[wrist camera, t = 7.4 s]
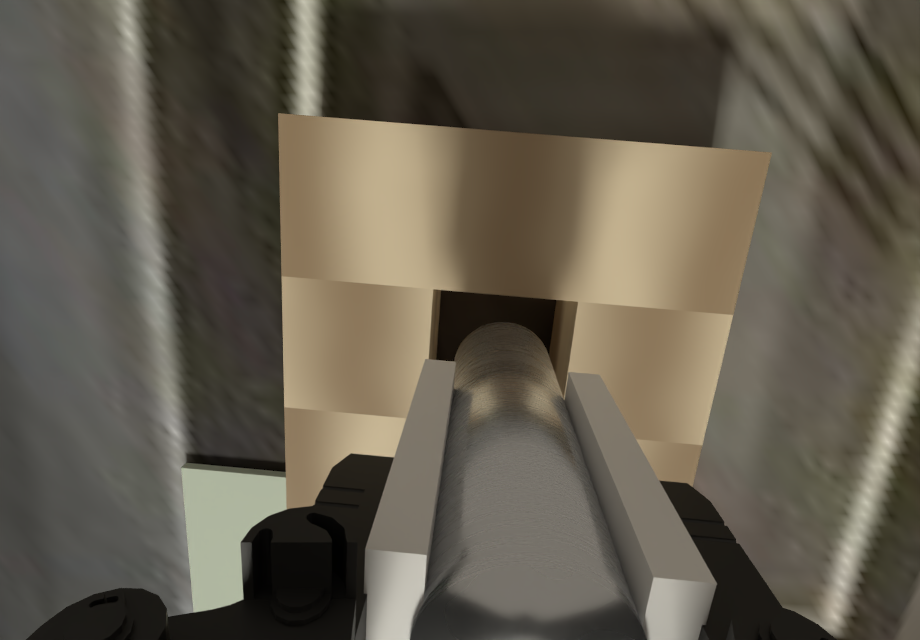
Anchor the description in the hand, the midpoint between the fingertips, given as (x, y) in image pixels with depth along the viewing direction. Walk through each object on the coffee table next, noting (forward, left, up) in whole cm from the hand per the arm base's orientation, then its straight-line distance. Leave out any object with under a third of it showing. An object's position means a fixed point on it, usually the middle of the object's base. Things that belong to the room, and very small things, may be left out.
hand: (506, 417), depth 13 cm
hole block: (0, 0, -8) cm, 8 cm away
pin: (0, 0, -3) cm, 3 cm away
